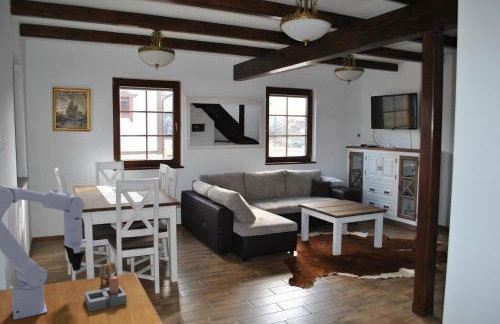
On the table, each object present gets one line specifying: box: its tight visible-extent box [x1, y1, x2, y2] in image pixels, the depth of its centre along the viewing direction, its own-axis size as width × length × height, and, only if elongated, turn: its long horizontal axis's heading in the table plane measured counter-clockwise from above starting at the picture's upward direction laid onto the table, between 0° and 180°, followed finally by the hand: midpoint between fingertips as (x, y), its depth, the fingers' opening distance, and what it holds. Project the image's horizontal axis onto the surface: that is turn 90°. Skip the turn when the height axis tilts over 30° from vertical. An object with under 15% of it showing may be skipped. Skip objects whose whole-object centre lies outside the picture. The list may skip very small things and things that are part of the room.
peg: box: [109, 275, 120, 295], centre depth 144 cm, size 3×3×8 cm
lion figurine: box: [98, 261, 118, 287], centre depth 159 cm, size 15×5×9 cm, turn 9°
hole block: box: [83, 285, 128, 312], centre depth 142 cm, size 12×9×3 cm
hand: (74, 266), depth 147 cm, fingers open, 7 cm apart
